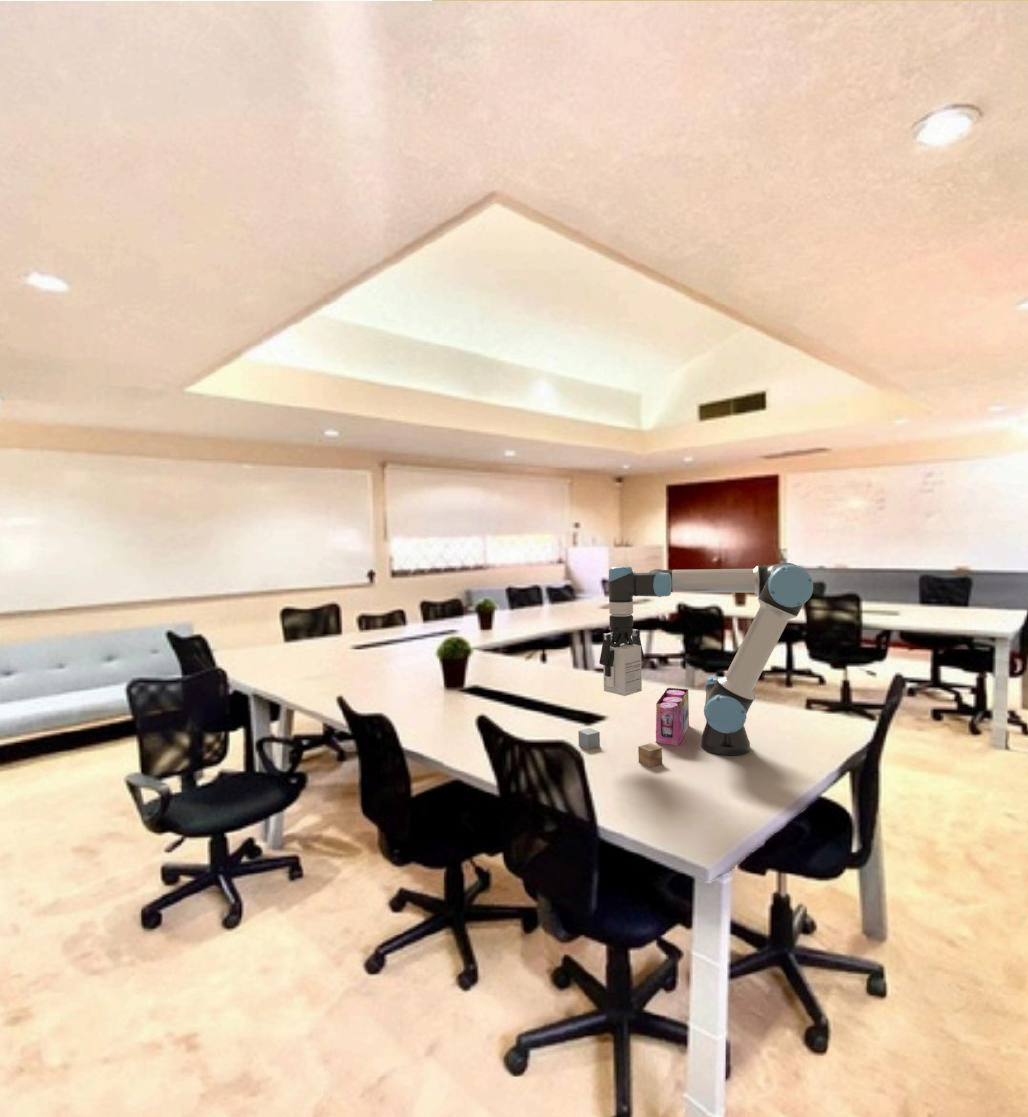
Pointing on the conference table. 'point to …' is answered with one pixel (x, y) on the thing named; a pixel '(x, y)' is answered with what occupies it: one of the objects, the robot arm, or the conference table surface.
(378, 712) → the conference table surface
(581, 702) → the conference table surface
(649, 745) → the walnut block
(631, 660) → the supplement box
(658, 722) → the gum box
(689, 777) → the conference table surface
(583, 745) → the slate block
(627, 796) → the conference table surface
